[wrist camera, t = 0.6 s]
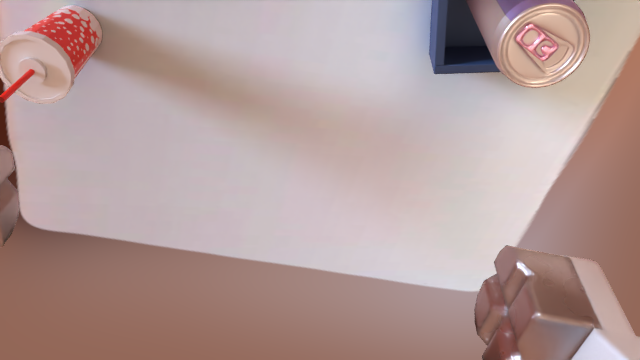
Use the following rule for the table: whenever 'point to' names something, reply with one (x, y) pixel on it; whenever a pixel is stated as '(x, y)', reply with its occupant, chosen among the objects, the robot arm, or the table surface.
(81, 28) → the beverage cup
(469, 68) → the open storage box
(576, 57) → the beverage can
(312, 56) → the table surface
